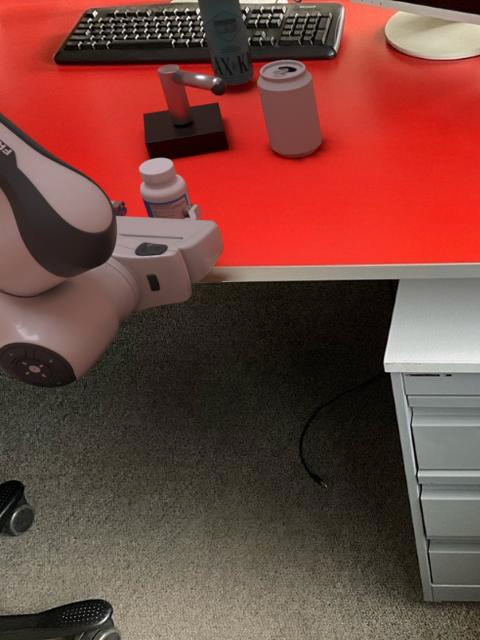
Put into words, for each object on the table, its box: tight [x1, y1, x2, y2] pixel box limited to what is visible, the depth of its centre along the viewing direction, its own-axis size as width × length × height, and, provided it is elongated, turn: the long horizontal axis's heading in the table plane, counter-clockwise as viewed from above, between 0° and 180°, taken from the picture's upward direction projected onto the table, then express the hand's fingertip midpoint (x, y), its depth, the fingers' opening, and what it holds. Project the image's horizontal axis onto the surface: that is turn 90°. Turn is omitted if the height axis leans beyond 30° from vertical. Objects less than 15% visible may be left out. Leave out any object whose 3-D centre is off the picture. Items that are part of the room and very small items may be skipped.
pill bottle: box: [138, 158, 193, 219], centre depth 110 cm, size 6×5×10 cm
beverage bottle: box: [197, 0, 255, 86], centre depth 140 cm, size 6×7×20 cm
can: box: [256, 59, 323, 158], centre depth 126 cm, size 8×8×12 cm
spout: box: [157, 64, 228, 125], centre depth 126 cm, size 3×11×8 cm, turn 66°
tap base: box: [142, 102, 230, 160], centre depth 131 cm, size 11×10×3 cm
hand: (157, 207), depth 108 cm, fingers open, 8 cm apart
